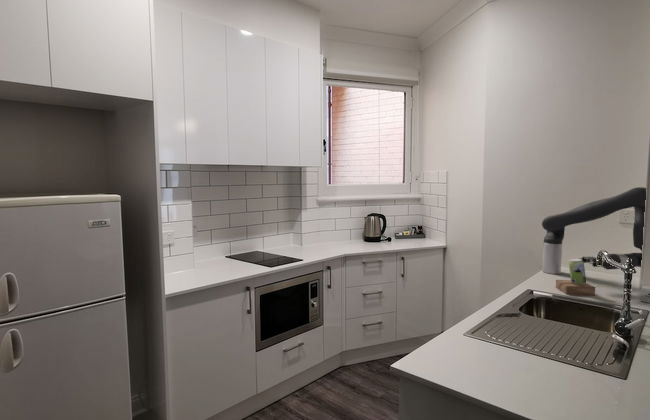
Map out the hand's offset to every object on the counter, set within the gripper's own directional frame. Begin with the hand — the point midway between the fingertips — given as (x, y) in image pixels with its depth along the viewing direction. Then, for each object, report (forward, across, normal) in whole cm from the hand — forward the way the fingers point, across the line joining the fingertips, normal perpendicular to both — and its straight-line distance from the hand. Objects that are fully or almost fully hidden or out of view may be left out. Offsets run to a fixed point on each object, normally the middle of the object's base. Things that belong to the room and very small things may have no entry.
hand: (585, 262), depth 184 cm
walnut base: (+5, 0, +14) cm, 15 cm away
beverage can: (+5, +1, +10) cm, 12 cm away
